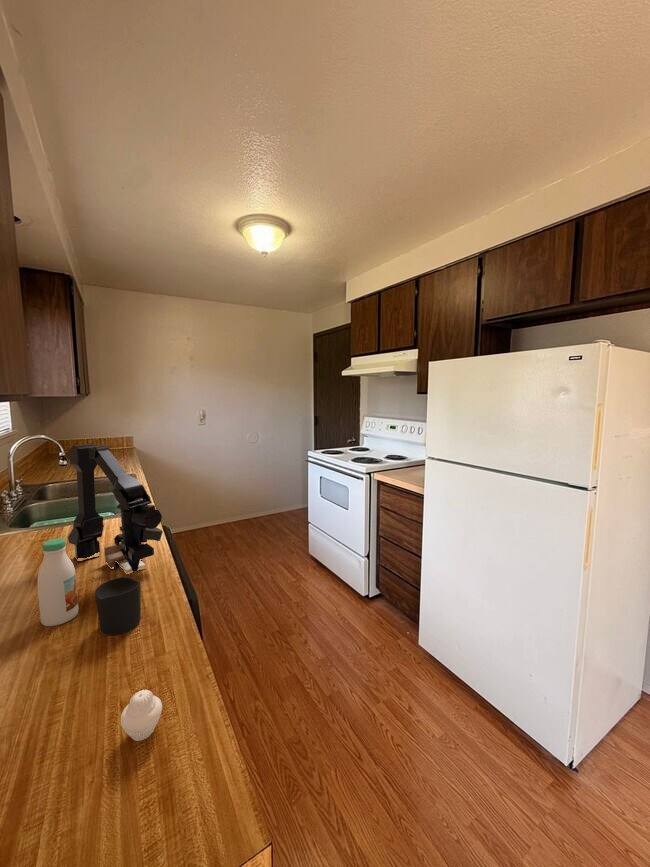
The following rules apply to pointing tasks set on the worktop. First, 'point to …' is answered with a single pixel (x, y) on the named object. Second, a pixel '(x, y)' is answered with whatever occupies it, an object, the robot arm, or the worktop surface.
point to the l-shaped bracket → (113, 554)
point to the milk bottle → (57, 585)
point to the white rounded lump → (141, 715)
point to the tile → (126, 567)
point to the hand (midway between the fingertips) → (135, 571)
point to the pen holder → (118, 605)
